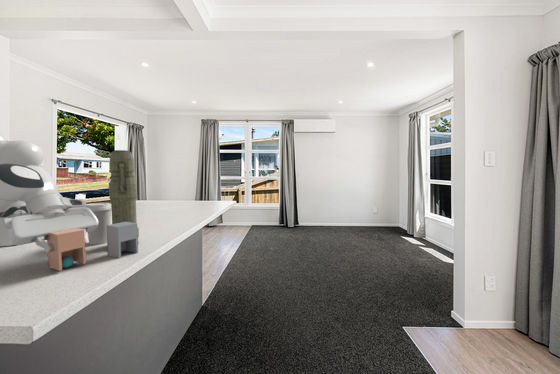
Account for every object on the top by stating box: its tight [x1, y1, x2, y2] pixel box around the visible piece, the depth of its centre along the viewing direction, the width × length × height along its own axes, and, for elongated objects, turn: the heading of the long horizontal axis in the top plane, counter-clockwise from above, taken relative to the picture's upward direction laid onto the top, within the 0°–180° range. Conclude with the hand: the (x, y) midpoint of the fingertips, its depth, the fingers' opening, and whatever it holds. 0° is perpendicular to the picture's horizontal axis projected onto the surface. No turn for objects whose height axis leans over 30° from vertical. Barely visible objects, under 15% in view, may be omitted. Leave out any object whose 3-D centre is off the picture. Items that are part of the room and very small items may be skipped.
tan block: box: [46, 228, 87, 272], centre depth 75 cm, size 6×6×10 cm
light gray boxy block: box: [106, 222, 139, 259], centre depth 87 cm, size 6×6×10 cm
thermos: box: [108, 149, 140, 244], centre depth 97 cm, size 9×12×35 cm
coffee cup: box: [85, 202, 112, 246], centre depth 101 cm, size 10×10×15 cm
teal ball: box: [62, 256, 75, 269], centre depth 75 cm, size 3×3×3 cm
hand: (67, 247), depth 75 cm, fingers closed on tan block, 6 cm apart
